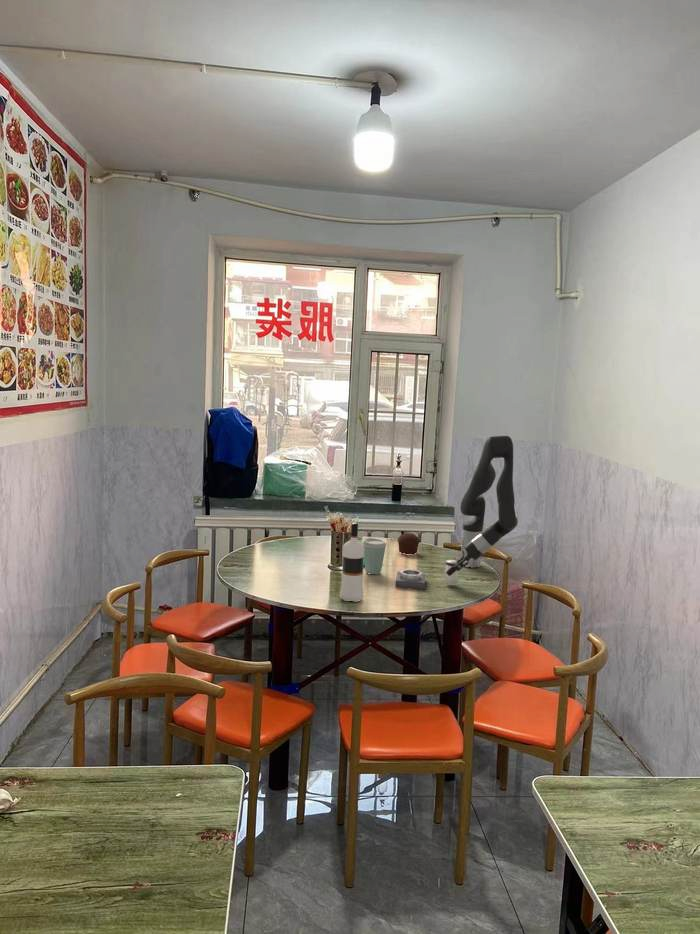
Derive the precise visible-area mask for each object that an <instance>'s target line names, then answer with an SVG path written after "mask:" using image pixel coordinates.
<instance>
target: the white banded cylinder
mask: <svg viewBox="0 0 700 934" xmlns="http://www.w3.org/2000/svg"><path fill="white" fill-rule="evenodd" d="M456 561H457V560H454V559H446V561H445V574H444V575H445V576H444V583H446V584H449V585H456V584H458V583H459V571H455V572H454V573H453V574H452V575H451V576H449V575H448V574H447V573H446V572H447V571H448V570H449V569H450V568H451V567H453V565H455V564H456ZM458 567H459V565H458Z"/></svg>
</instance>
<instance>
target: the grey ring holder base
mask: <svg viewBox="0 0 700 934" xmlns="http://www.w3.org/2000/svg"><path fill="white" fill-rule="evenodd" d="M425 584H426V573H423V572H422V571H420V570H416V569H410V568H408V569H402V570H400V571H397V573H396V578H395V585H394V586H395V587H401V589H408V588H412V589H411V590H420V589H422V590H424V591H425V588H426V587H425V586H426V585H425Z"/></svg>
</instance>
